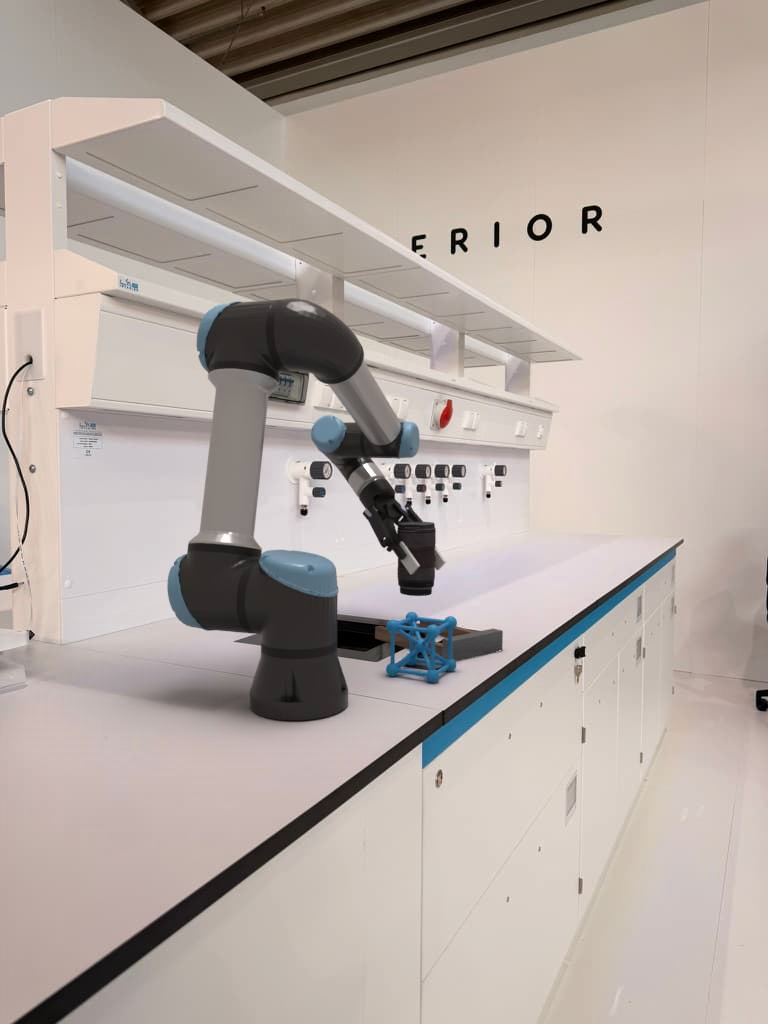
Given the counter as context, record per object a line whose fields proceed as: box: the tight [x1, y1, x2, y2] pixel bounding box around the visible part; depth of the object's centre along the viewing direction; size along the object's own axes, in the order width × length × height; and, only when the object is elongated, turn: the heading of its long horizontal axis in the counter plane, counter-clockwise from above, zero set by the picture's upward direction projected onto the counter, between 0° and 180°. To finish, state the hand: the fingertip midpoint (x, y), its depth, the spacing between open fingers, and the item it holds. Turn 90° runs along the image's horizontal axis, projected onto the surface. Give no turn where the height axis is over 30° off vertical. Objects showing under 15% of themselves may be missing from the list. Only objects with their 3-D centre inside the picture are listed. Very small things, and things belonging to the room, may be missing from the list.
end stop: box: [441, 628, 504, 662], centre depth 143 cm, size 14×2×4 cm, turn 129°
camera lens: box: [396, 521, 437, 597], centre depth 155 cm, size 8×8×15 cm
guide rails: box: [374, 621, 477, 657], centre depth 152 cm, size 14×21×2 cm
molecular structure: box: [385, 611, 458, 684], centre depth 130 cm, size 10×10×10 cm
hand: (428, 568), depth 153 cm, fingers closed on camera lens, 8 cm apart
